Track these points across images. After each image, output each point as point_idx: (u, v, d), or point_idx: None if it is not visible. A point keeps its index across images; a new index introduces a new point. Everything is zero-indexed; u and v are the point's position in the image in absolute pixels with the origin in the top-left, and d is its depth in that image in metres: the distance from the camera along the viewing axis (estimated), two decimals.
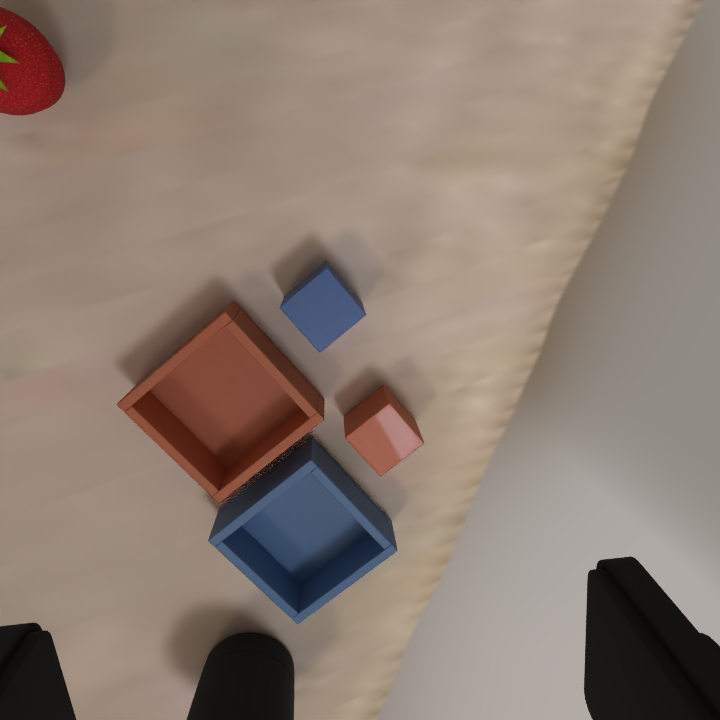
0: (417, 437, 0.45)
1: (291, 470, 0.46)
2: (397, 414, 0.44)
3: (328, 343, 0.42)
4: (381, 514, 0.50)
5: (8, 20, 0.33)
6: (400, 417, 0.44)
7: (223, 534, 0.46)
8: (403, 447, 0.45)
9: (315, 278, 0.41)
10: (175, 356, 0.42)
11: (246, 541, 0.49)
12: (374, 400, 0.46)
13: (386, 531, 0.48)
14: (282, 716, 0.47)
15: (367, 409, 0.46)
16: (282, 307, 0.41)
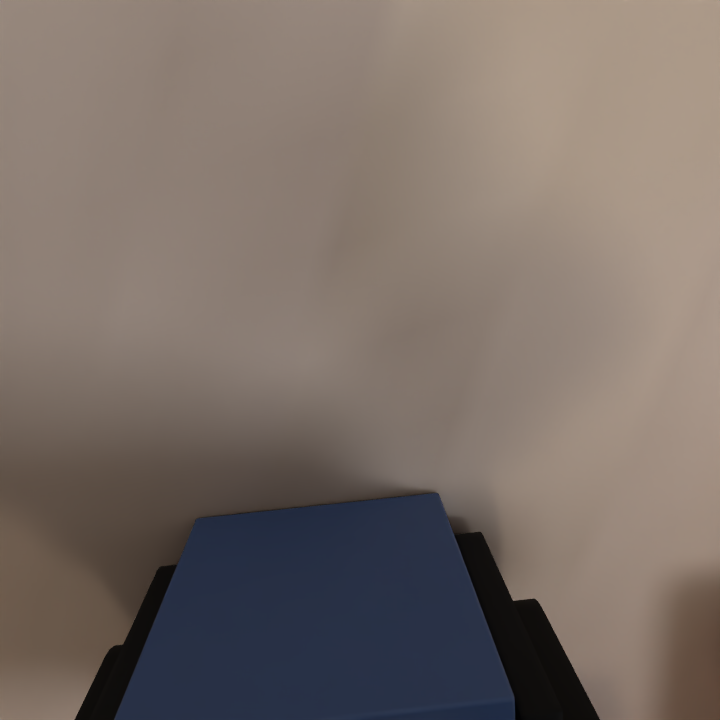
0: None
1: None
2: None
3: None
4: None
5: None
6: None
7: None
8: None
9: None
10: None
11: None
12: None
13: None
14: None
15: None
16: None
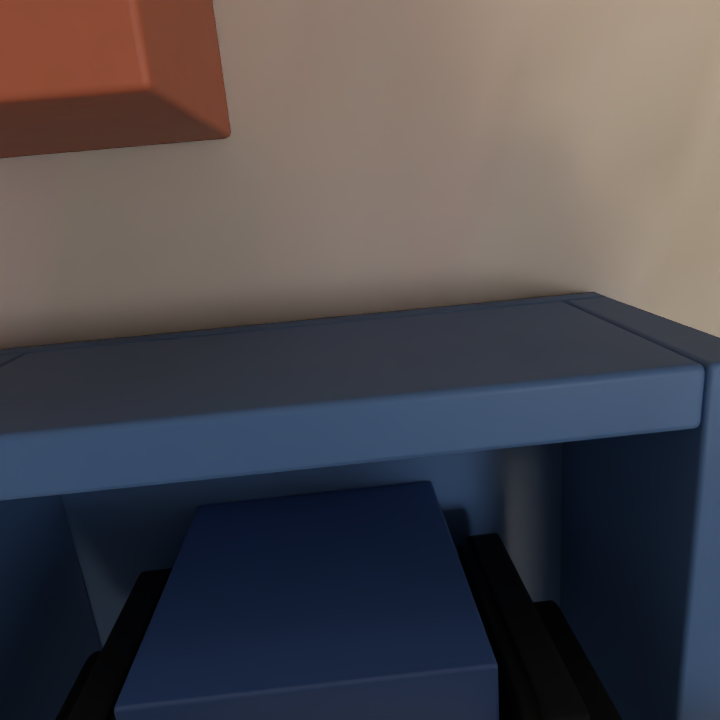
0: None
1: None
2: None
3: None
4: (523, 309, 0.10)
5: None
6: None
7: None
8: None
9: None
10: None
11: None
12: None
13: (609, 338, 0.08)
14: None
15: None
16: None
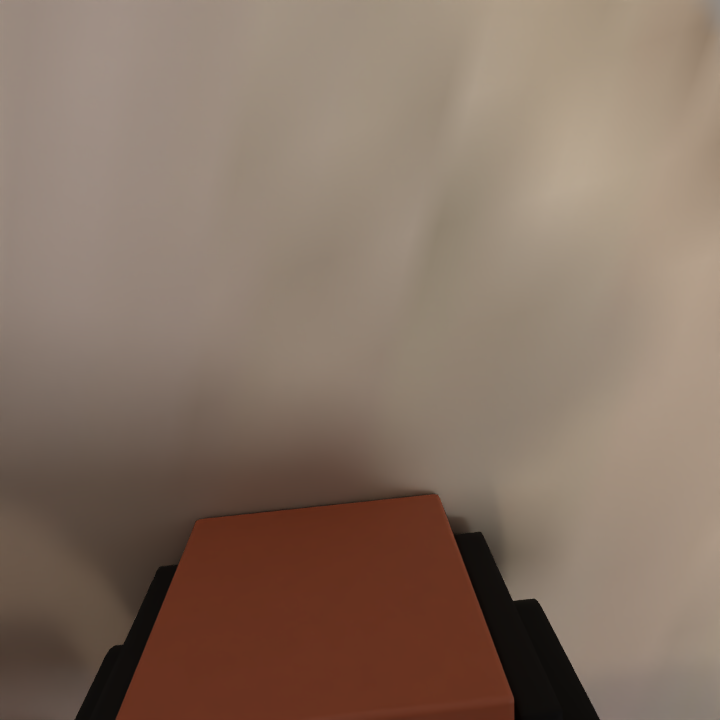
0: (446, 717, 0.06)
1: None
2: None
3: None
4: None
5: None
6: None
7: None
8: None
9: None
10: None
11: None
12: None
13: None
14: None
15: None
16: None
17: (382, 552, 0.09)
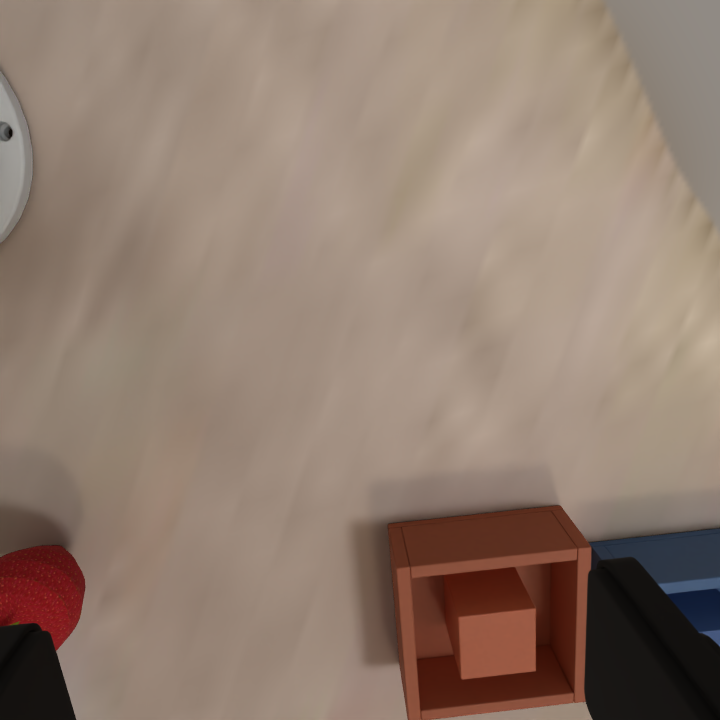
0: (523, 611, 0.32)
1: None
2: (478, 616, 0.32)
3: None
4: None
5: None
6: (484, 615, 0.32)
7: None
8: (522, 632, 0.32)
9: None
10: (404, 642, 0.33)
11: None
12: (449, 602, 0.35)
13: None
14: None
15: (452, 622, 0.34)
16: None
17: (500, 578, 0.35)
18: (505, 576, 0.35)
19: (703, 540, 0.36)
